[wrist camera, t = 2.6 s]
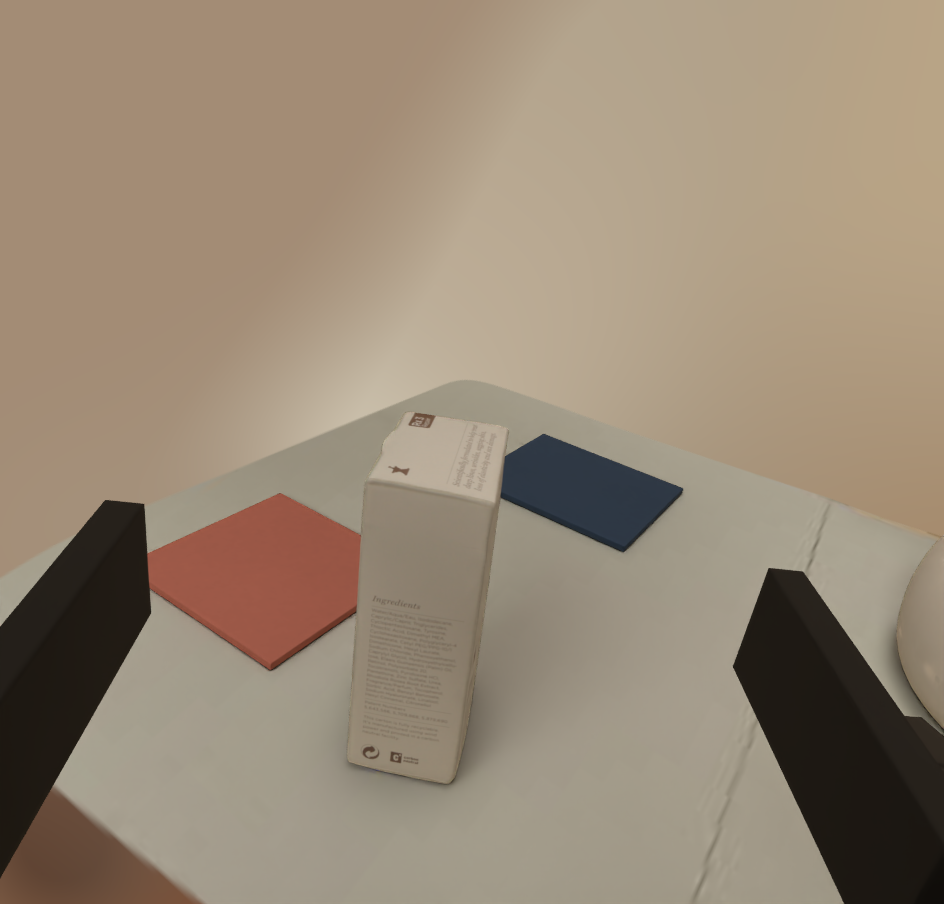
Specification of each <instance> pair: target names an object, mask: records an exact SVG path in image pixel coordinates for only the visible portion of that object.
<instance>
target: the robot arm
mask: <svg viewBox="0 0 944 904" xmlns="http://www.w3.org/2000/svg"><path fill="white" fill-rule="evenodd" d="M150 614H151V603H150V588H149V572H148V556H147V540H146V524H145V509H144V504H140V503H130V502H120V501H109V500H105V501H104V502H103V503H102V505H101V506H100V507H99V508H98V510H97V511H96V512H95V513H94V514H93V516H92V517H91V518H90V519H89V520H88V521H87V523H86V524H85V525H84V526H83V528H82V529H81V530H80V531H79V532H78V533H77V535H76V536H75V537H74V538H73V540H72V541H71V542H70V543H69V544H68V546H67V547H66V548H65V549H64V550H63V552H62V553H61V554H60V555H59V556H58V558H57V559H56V560H55V561H54V562H53V564H52V565H51V566H50V567H49V568H48V570H47V571H46V572H45V573H44V574H43V576H42V577H41V578H40V579H39V581H38V582H37V583H36V584H35V585H34V587H33V588H32V589H31V590H30V591H29V593H28V594H27V595H26V596H25V597H24V599H23V600H22V601H21V602H20V603H19V605H18V606H17V607H16V608H15V609H14V611H13V612H12V613H11V614H10V615H9V617H8V618H7V619H6V620H5V621H4V623H3V624H2V625H1V626H0V878H1V876H2V874H3V872H4V871H5V869H6V867H7V865H8V863H9V862H10V860H11V858H12V856H13V855H14V853H15V851H16V849H17V848H18V846H19V844H20V842H21V840H22V839H23V837H24V835H25V834H26V832H27V830H28V829H29V827H30V825H31V823H32V821H33V820H34V818H35V816H36V814H37V813H38V811H39V809H40V807H41V806H42V804H43V802H44V800H45V799H46V797H47V795H48V793H49V792H50V790H51V788H52V786H53V785H54V783H55V781H56V779H57V778H58V776H59V774H60V772H61V771H62V769H63V767H64V765H65V763H66V762H67V760H68V758H69V756H70V755H71V753H72V751H73V749H74V748H75V746H76V744H77V742H78V741H79V739H80V737H81V735H82V734H83V732H84V730H85V728H86V727H87V725H88V723H89V721H90V720H91V718H92V716H93V714H94V713H95V711H96V709H97V707H98V705H99V704H100V702H101V700H102V698H103V697H104V695H105V693H106V691H107V690H108V688H109V686H110V684H111V683H112V681H113V679H114V677H115V676H116V674H117V672H118V670H119V669H120V667H121V665H122V663H123V662H124V660H125V658H126V656H127V655H128V653H129V651H130V649H131V647H132V646H133V644H134V642H135V640H136V639H137V637H138V635H139V633H140V632H141V630H142V628H143V626H144V625H145V623H146V621H147V619H148V618H149V616H150ZM733 668H734V670H735V672H736V674H737V677H738V679H739V681H740V683H741V685H742V687H743V689H744V691H745V694H746V696H747V698H748V700H749V702H750V704H751V706H752V708H753V711H754V713H755V715H756V717H757V719H758V721H759V723H760V725H761V728H762V730H763V732H764V734H765V736H766V738H767V740H768V742H769V745H770V747H771V749H772V751H773V753H774V755H775V757H776V759H777V762H778V764H779V766H780V768H781V770H782V772H783V774H784V777H785V779H786V781H787V783H788V785H789V787H790V789H791V791H792V794H793V796H794V798H795V800H796V802H797V804H798V806H799V808H800V811H801V813H802V815H803V817H804V819H805V821H806V823H807V825H808V828H809V830H810V832H811V834H812V836H813V838H814V840H815V842H816V845H817V847H818V849H819V851H820V853H821V855H822V857H823V859H824V862H825V864H826V866H827V868H828V870H829V872H830V874H831V877H832V879H833V881H834V883H835V885H836V887H837V889H838V891H839V894H840V896H841V898H842V900H843V902H844V904H944V736H943V735H942V734H940V733H939V732H938V731H937V730H936V729H935V728H933V727H932V726H931V725H930V724H929V723H927V722H926V721H925V720H924V719H923V718H921V717H910V716H904V715H903V713H902V712H901V711H900V709H899V708H898V706H897V705H896V703H895V702H894V701H893V699H892V698H891V696H890V695H889V693H888V692H887V691H886V689H885V688H884V686H883V685H882V683H881V682H880V681H879V679H878V678H877V676H876V675H875V673H874V672H873V671H872V669H871V668H870V666H869V665H868V664H867V662H866V661H865V659H864V658H863V656H862V655H861V654H860V652H859V651H858V649H857V648H856V646H855V645H854V644H853V642H852V641H851V639H850V638H849V636H848V635H847V634H846V632H845V631H844V629H843V628H842V626H841V625H840V624H839V622H838V621H837V619H836V618H835V617H834V615H833V614H832V612H831V611H830V609H829V608H828V607H827V605H826V604H825V602H824V601H823V599H822V598H821V597H820V595H819V594H818V592H817V591H816V589H815V588H814V587H813V585H812V584H811V582H810V581H809V579H808V578H807V577H806V575H805V574H804V572H802V571H793V570H783V569H773V568H769V569H768V572H767V574H766V577H765V580H764V583H763V585H762V588H761V591H760V594H759V596H758V599H757V602H756V605H755V607H754V610H753V613H752V616H751V618H750V621H749V624H748V626H747V629H746V632H745V635H744V637H743V640H742V643H741V646H740V648H739V651H738V654H737V657H736V659H735V662H734V665H733Z"/></svg>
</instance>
